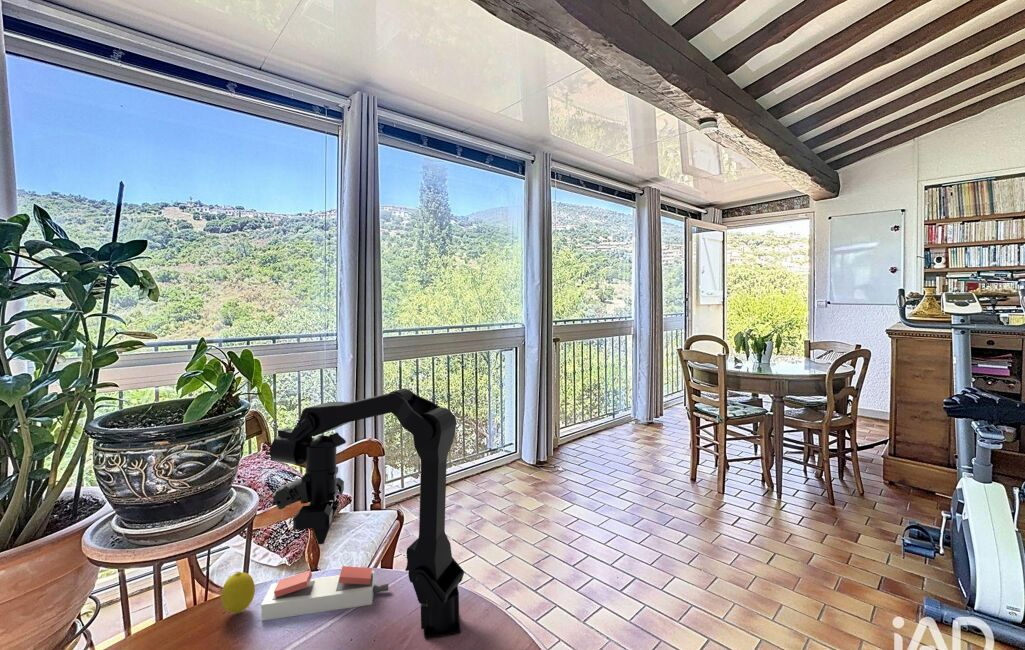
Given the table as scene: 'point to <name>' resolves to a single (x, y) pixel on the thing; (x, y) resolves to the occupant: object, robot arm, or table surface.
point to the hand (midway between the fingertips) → (321, 543)
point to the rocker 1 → (293, 583)
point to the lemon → (238, 592)
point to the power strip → (319, 597)
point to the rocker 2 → (355, 575)
